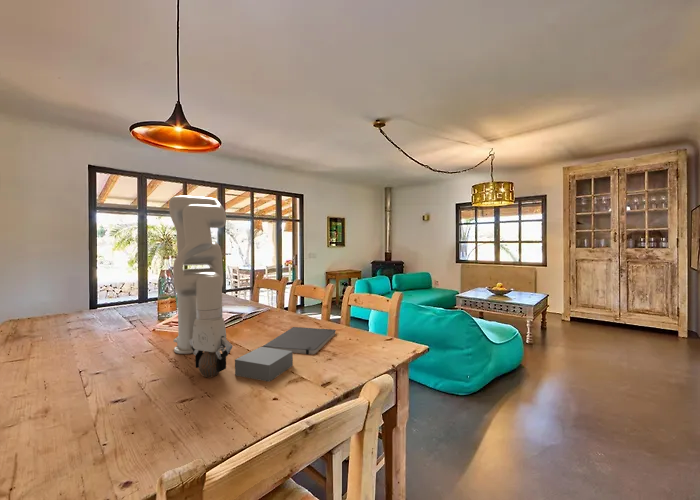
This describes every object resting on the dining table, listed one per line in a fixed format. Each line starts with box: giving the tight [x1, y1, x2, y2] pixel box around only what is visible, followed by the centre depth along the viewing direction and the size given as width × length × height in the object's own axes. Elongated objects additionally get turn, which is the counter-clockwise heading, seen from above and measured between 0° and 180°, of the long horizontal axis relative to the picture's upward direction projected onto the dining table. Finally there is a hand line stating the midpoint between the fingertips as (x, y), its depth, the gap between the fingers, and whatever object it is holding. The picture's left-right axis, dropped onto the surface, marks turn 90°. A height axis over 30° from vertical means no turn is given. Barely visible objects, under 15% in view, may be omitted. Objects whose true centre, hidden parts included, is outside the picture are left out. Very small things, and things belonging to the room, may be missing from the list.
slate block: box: [234, 346, 294, 383], centre depth 103 cm, size 13×13×5 cm
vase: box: [198, 351, 220, 378], centre depth 100 cm, size 7×7×9 cm
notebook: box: [262, 326, 337, 355], centre depth 133 cm, size 22×2×28 cm
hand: (210, 368), depth 100 cm, fingers open, 8 cm apart
